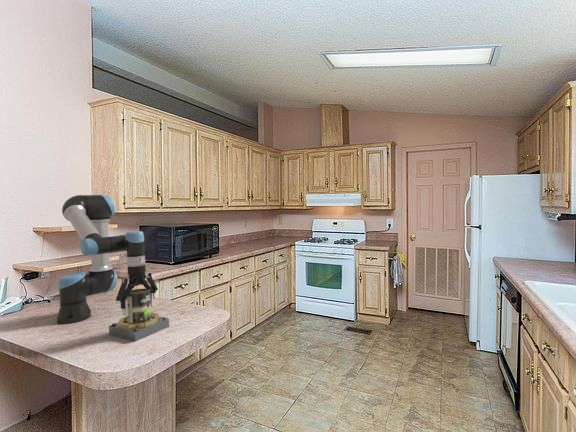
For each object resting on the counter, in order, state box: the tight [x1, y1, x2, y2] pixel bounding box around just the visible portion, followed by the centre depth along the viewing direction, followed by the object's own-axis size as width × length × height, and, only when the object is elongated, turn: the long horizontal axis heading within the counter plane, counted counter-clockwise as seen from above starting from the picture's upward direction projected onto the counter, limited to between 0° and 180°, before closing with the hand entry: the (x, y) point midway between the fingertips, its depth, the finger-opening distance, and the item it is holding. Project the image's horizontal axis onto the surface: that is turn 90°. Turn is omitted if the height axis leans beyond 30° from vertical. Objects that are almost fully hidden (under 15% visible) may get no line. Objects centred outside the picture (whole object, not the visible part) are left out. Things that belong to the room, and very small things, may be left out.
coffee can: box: [126, 288, 152, 324], centre depth 150 cm, size 10×10×14 cm
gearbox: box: [108, 311, 170, 342], centre depth 150 cm, size 18×18×6 cm
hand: (138, 311), depth 150 cm, fingers open, 13 cm apart
